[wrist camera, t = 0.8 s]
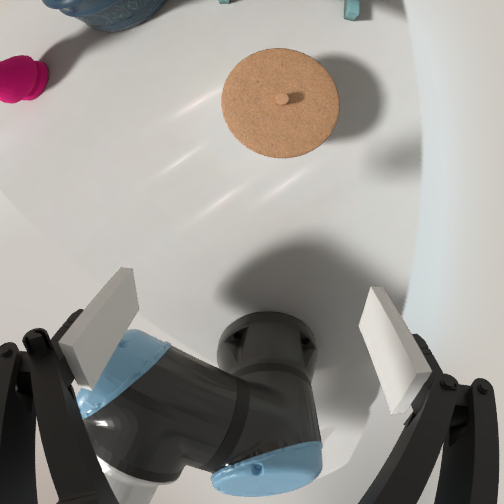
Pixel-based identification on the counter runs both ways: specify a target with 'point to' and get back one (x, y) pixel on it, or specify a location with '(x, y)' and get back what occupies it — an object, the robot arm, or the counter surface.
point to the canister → (108, 12)
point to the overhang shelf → (349, 7)
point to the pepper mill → (22, 79)
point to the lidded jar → (280, 103)
